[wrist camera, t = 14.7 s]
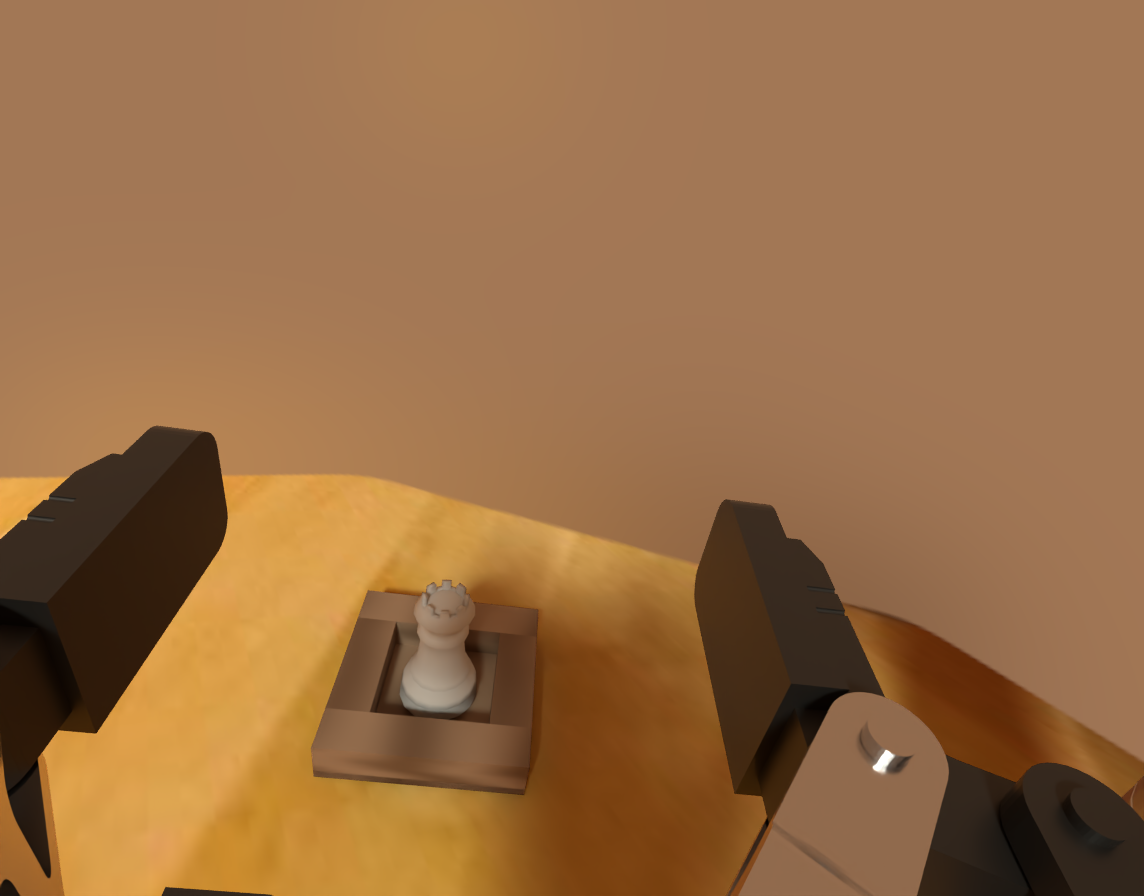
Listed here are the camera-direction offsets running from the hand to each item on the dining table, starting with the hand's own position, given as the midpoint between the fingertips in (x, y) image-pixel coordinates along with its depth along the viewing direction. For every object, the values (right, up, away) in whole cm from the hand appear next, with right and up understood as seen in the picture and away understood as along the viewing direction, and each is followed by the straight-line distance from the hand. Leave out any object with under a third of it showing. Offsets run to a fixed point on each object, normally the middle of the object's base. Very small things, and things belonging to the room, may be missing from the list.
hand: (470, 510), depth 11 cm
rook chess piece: (-6, -14, +29) cm, 32 cm away
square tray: (-6, -14, +29) cm, 33 cm away
